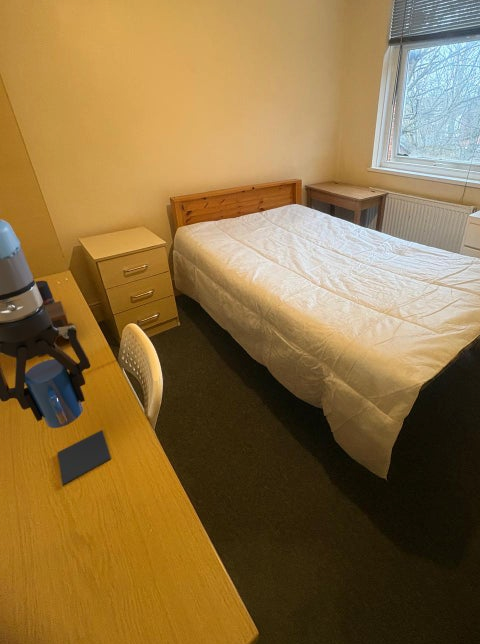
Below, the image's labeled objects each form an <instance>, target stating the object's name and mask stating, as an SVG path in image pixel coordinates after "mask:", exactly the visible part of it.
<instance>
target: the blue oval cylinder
mask: <svg viewBox="0 0 480 644" xmlns="http://www.w3.org/2000/svg"><path fill="white" fill-rule="evenodd" d="M25 386H26V388H28V390H29V392H30V394H31V396H32V398H33V400H34V401H35V403H36V405H37V407H38V409H39V411H40V413H41V415H42V420H43V421H44V423H45V425H46V426H47V427H48V428H51V429H59V428H60V429H61V428H63V427H66V426H68V425H70V424H72V423H73V422H75V421H76V420H77V419H78V418H79V417H80V416H81V414H82V413H83V411H84V405H83V402H80V399H79V397H78V395H77V392H76V390H75V388H74V385H73V383H72V381H71V378H70V374H69V370H68V369H66V368H65V367H64V366H63V365H61V364H60V363H59V362H58V361H57V360H55V359H54V358H51V359H47V360H43V361H41V362H39V363H37V364H35V365H33V366H31V367H30V368H29V369H27V370H26V371H25Z"/></svg>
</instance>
